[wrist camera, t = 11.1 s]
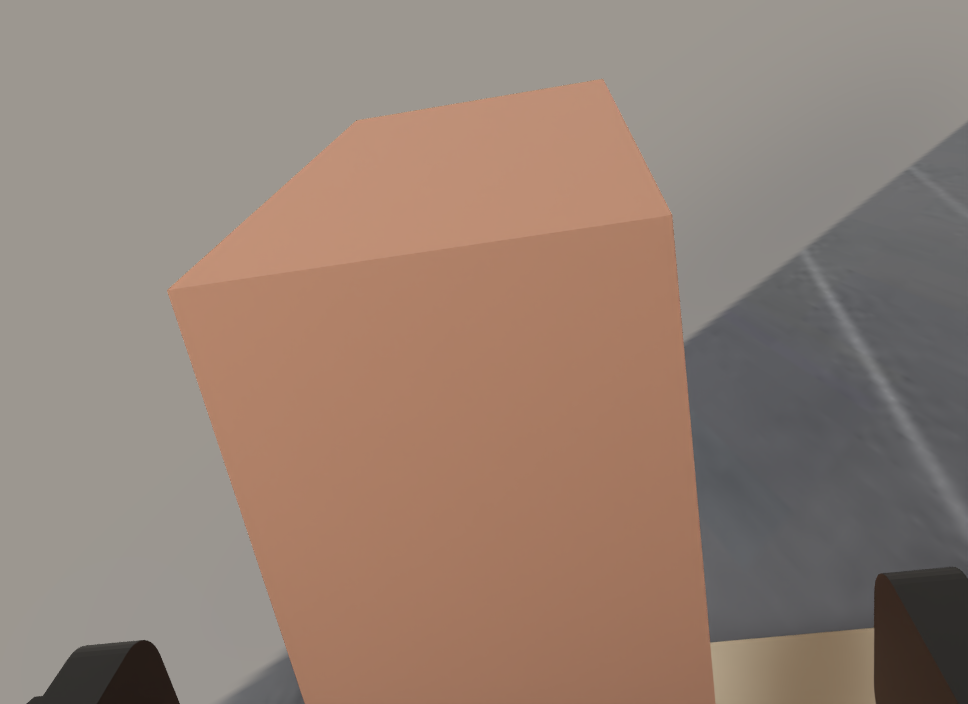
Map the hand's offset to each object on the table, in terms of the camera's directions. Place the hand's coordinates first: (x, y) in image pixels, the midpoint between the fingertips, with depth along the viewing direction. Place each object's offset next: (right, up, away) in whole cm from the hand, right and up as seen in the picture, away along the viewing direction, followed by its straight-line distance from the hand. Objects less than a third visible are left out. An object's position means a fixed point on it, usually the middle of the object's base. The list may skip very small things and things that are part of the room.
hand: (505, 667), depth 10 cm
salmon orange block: (+2, -7, +6) cm, 9 cm away
